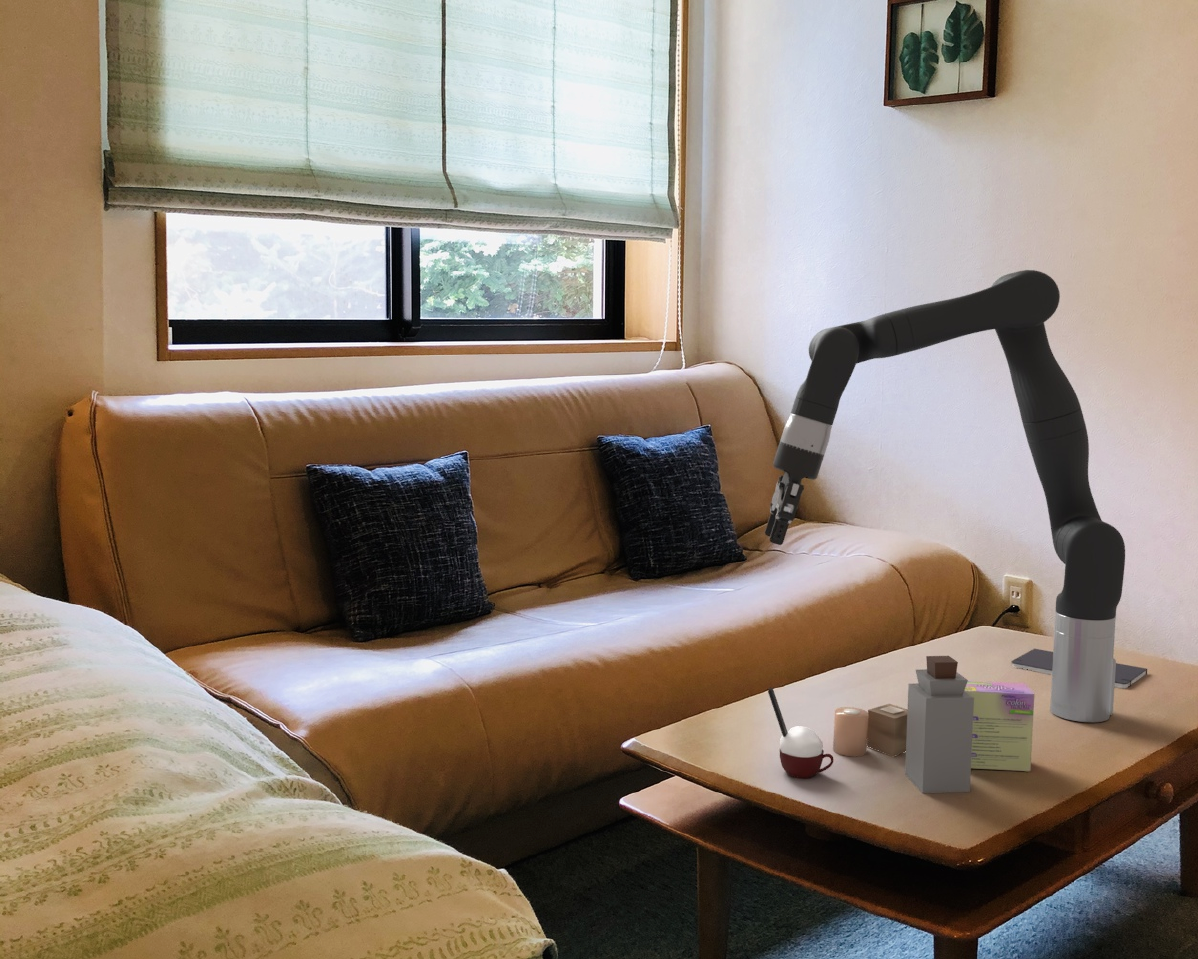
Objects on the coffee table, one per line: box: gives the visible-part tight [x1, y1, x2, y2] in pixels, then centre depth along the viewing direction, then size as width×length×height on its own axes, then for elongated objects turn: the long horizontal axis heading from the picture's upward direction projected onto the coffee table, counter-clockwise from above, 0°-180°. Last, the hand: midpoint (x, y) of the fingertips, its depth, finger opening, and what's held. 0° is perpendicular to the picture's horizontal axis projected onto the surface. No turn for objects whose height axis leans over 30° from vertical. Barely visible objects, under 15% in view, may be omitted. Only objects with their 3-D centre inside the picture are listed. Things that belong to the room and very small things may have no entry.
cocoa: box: [767, 686, 834, 779], centre depth 160 cm, size 10×6×12 cm, turn 48°
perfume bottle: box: [904, 655, 974, 794], centre depth 156 cm, size 7×7×18 cm
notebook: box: [1010, 648, 1148, 689], centre depth 213 cm, size 13×2×21 cm
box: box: [965, 680, 1035, 773], centre depth 164 cm, size 10×6×12 cm, turn 84°
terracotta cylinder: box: [832, 706, 868, 758], centre depth 170 cm, size 5×5×6 cm
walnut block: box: [867, 703, 908, 757], centre depth 171 cm, size 5×5×6 cm
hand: (772, 539), depth 184 cm, fingers open, 8 cm apart
